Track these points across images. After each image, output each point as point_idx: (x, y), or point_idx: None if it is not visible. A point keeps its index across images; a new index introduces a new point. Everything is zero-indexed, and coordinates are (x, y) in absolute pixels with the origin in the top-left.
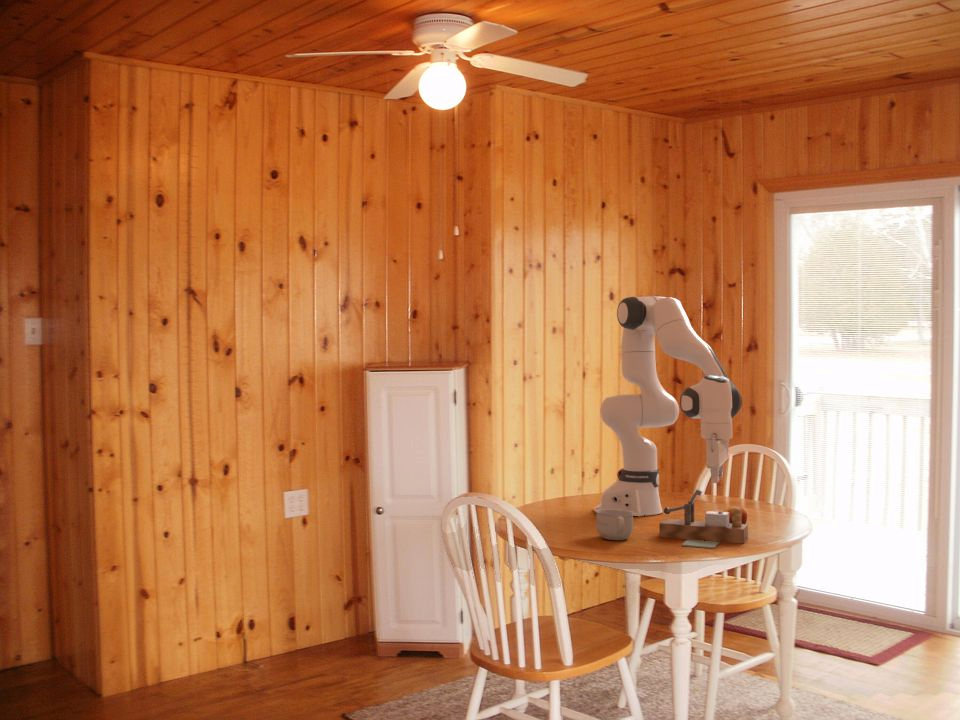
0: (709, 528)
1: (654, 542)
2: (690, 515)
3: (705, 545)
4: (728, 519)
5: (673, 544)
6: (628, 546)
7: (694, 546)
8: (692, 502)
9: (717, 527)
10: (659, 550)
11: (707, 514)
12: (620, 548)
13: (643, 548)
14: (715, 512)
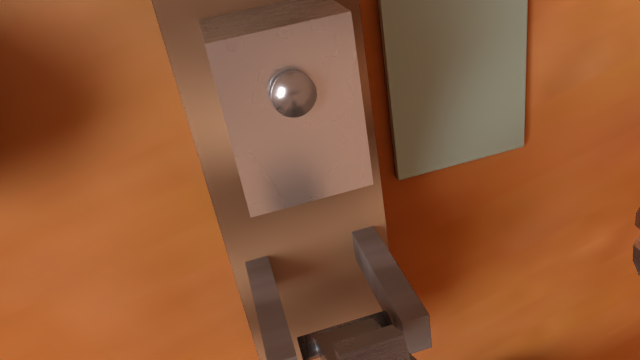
0: (366, 100)
1: (489, 272)
2: (378, 265)
3: (501, 31)
4: (240, 21)
5: (497, 190)
6: (590, 305)
7: (523, 80)
8: (380, 327)
9: (362, 49)
10: (627, 180)
11: (370, 164)
12: (629, 308)
13: (609, 247)
14: (287, 140)
